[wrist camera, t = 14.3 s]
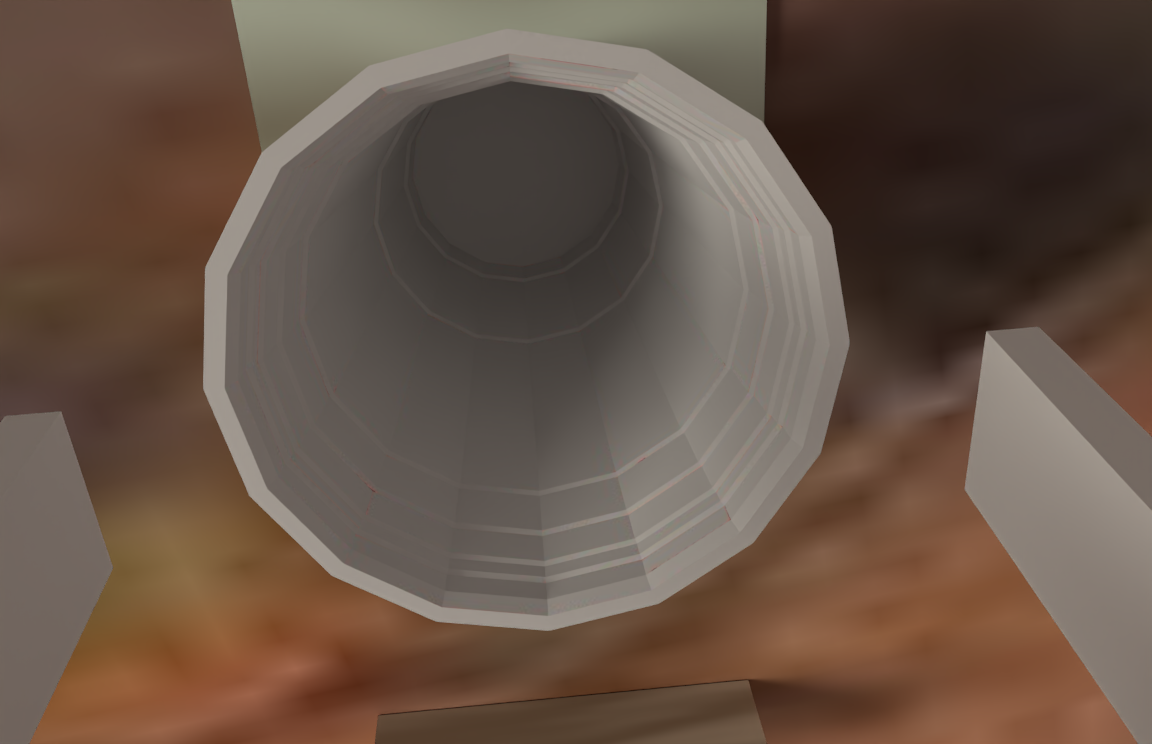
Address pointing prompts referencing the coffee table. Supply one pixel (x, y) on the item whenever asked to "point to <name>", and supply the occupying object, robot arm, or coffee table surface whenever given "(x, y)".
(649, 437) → the plastic cup
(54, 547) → the robot arm
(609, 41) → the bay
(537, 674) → the coffee table surface
